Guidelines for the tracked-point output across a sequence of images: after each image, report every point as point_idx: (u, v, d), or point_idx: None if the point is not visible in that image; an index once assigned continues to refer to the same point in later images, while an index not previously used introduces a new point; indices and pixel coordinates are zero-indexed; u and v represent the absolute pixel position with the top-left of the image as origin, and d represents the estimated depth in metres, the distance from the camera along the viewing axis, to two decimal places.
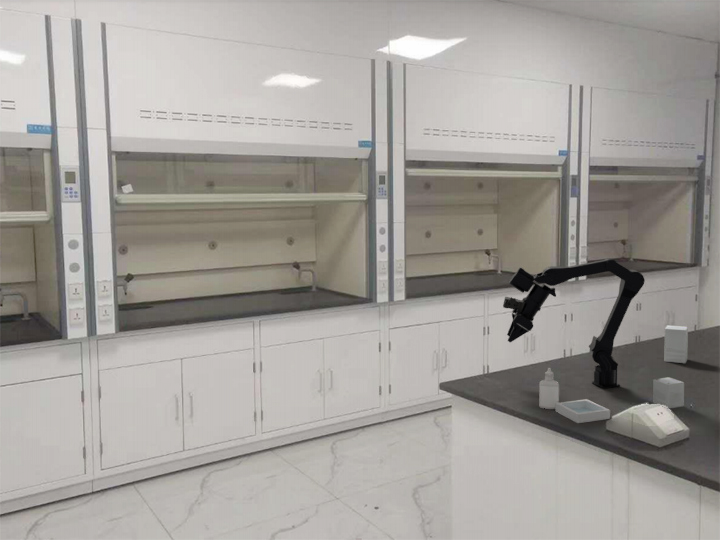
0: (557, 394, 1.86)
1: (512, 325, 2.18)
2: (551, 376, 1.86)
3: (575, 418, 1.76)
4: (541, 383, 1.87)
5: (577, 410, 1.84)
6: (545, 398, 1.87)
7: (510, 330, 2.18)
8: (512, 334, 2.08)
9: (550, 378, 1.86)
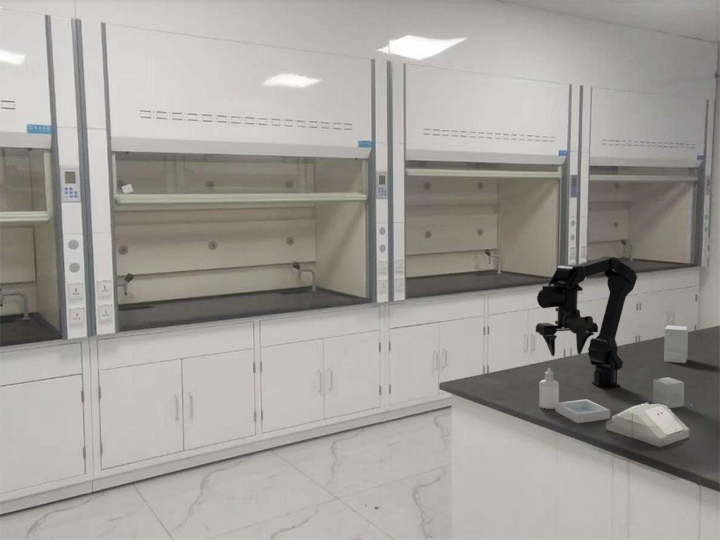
0: (557, 394, 1.86)
1: None
2: (551, 376, 1.86)
3: (575, 418, 1.76)
4: (541, 383, 1.87)
5: (577, 410, 1.84)
6: (545, 398, 1.87)
7: None
8: None
9: (550, 378, 1.86)
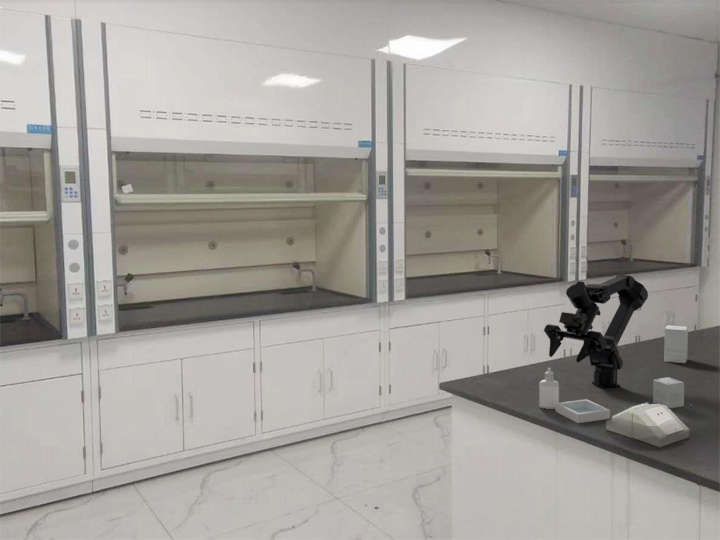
0: (557, 394, 1.86)
1: (553, 345, 1.96)
2: (551, 376, 1.86)
3: (575, 418, 1.76)
4: (541, 383, 1.87)
5: (577, 410, 1.84)
6: (545, 398, 1.87)
7: (552, 350, 1.96)
8: (582, 353, 1.88)
9: (550, 378, 1.86)
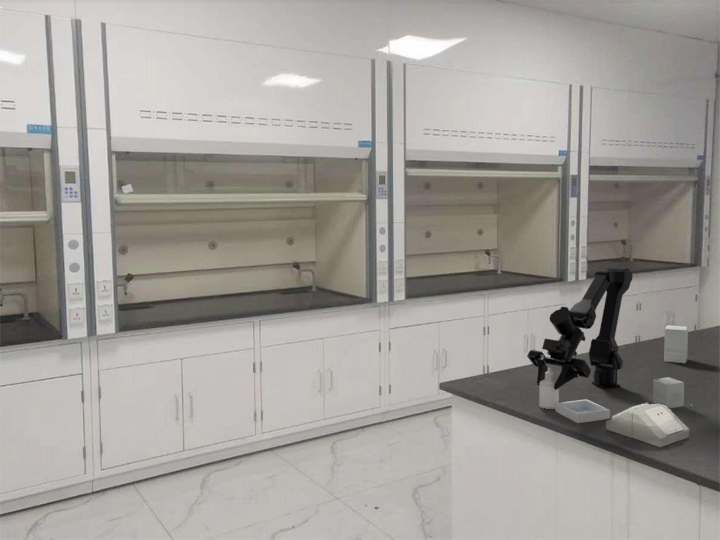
0: (557, 394, 1.86)
1: (542, 372, 1.90)
2: (551, 376, 1.86)
3: (575, 418, 1.76)
4: (541, 383, 1.87)
5: (577, 410, 1.84)
6: (545, 398, 1.87)
7: (540, 378, 1.89)
8: (560, 380, 1.85)
9: (550, 378, 1.86)
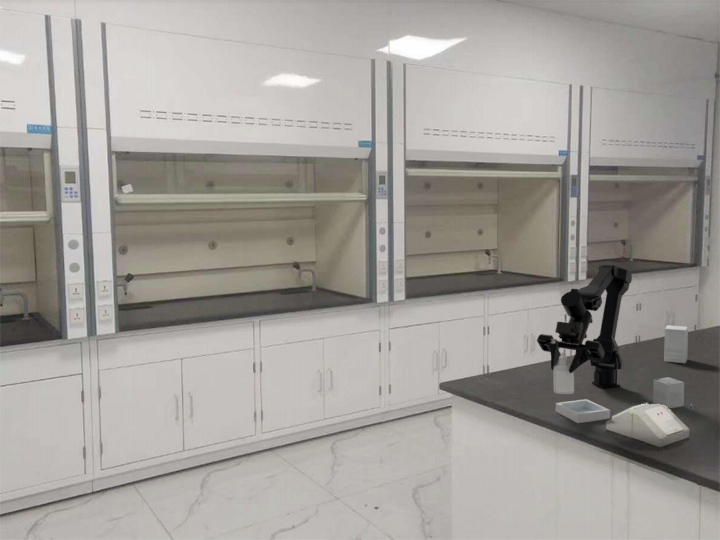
0: (572, 378, 1.83)
1: (555, 357, 1.86)
2: (566, 360, 1.82)
3: (575, 418, 1.76)
4: (556, 368, 1.83)
5: (577, 410, 1.84)
6: (561, 383, 1.83)
7: (554, 363, 1.85)
8: (575, 364, 1.81)
9: (565, 363, 1.82)
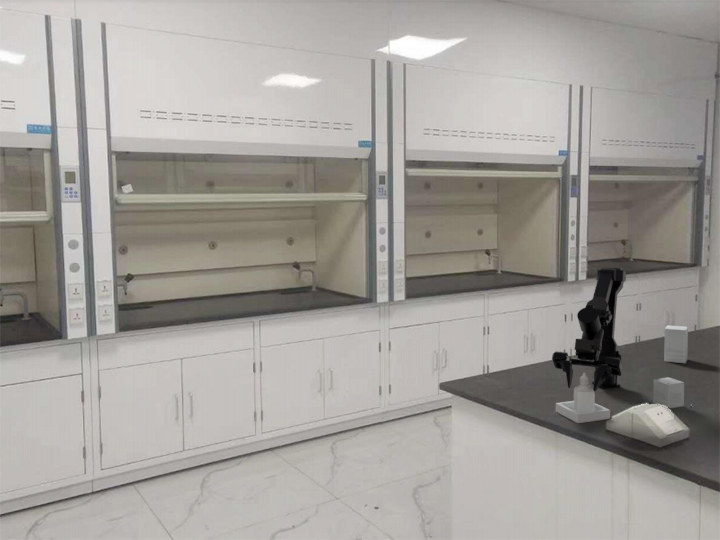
0: (593, 399, 1.80)
1: (570, 374, 1.83)
2: (587, 381, 1.79)
3: (575, 418, 1.76)
4: (578, 389, 1.79)
5: None
6: (583, 405, 1.79)
7: (570, 380, 1.82)
8: (598, 381, 1.78)
9: (587, 383, 1.79)
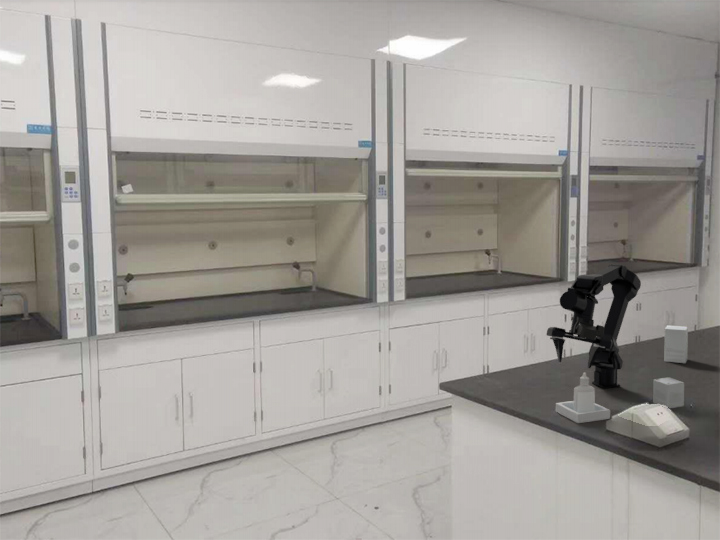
0: (594, 399, 1.80)
1: None
2: (588, 381, 1.79)
3: (575, 418, 1.76)
4: (578, 389, 1.79)
5: None
6: (583, 405, 1.79)
7: None
8: None
9: (587, 384, 1.79)
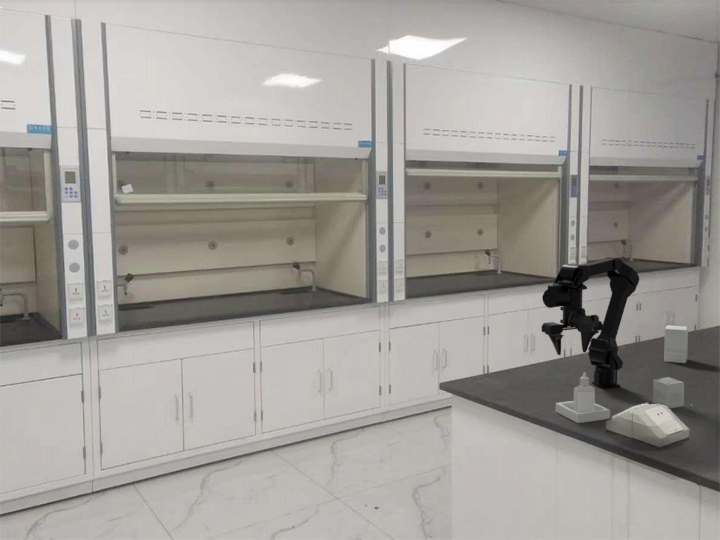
0: (594, 399, 1.80)
1: None
2: (588, 381, 1.79)
3: (575, 418, 1.76)
4: (578, 389, 1.79)
5: None
6: (583, 405, 1.79)
7: None
8: None
9: (587, 384, 1.79)
